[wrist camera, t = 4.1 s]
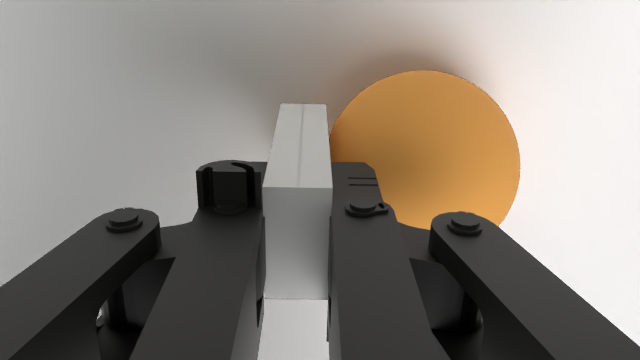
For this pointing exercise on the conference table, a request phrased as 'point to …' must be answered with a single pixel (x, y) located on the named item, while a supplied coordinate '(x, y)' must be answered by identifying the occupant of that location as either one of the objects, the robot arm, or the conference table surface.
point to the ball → (431, 146)
